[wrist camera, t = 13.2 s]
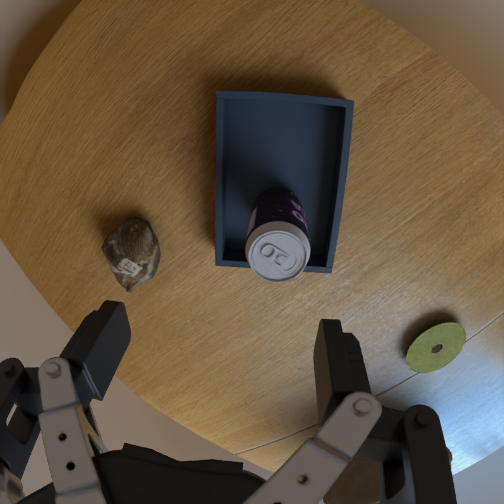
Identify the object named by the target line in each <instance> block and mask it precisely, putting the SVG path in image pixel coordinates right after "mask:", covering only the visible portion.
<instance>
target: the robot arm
mask: <svg viewBox="0 0 504 504" xmlns="http://www.w3.org/2000/svg"><path fill="white" fill-rule="evenodd" d="M130 339H131V329H130V325H129V321H128V317H127V313H126V309H125V305H124V303H123V302H117V301H110V300H106V301H104V302H103V304H102V305H101V307H100V308H99V310H98V311H96V310H94V311H93V312H92V313H90V314H89V315H87V316H86V317H85V318H84V320H83V321H82V323H81V324H80V327H78V329H77V330H76V332H75V334H74V335H73V336H72V338H71V339H70V341H69V342H68V344H67V345H66V347H65V348H64V350H63V351H62V353H61V354H60V356H59V357H54V358H50V359H48V360H46V361H45V362H43V363H42V365H41V366H40V367H39V368H38V367H36V368H24V366H23V364H22V363H21V361H20V360H19V359H17V358H9V359H6V360H4V361H2V362H1V363H0V504H318V503H319V501H320V500H321V499H322V498H323V497H324V496H325V494H326V493H327V492H328V491H329V489H330V488H331V487H332V486H333V484H334V483H335V482H336V480H337V479H338V478H339V477H340V475H341V474H342V473H343V471H344V470H345V469H346V467H347V466H348V465H349V463H350V462H351V460H352V459H353V458H354V457H358V458H362V459H367V460H372V461H376V462H378V474H379V488H380V504H457V501H456V494H455V489H454V483H453V477H452V472H451V467H450V462H449V458H448V453H447V448H446V444H445V440H444V436H443V432H442V428H441V424H440V420H439V417H438V415H437V413H436V412H435V411H434V410H433V409H432V408H430V407H428V406H426V405H414V406H411V407H410V408H408V409H407V411H406V412H404V411H399V410H394V409H390V408H387V407H384V406H382V405H381V404H380V402H379V400H378V399H377V398H376V397H375V396H373V395H372V393H371V389H370V385H369V381H368V376H367V372H366V368H365V364H364V362H363V361H364V360H363V356H362V354H361V353H362V352H361V348H360V344H359V341H358V340H357V339H356V337H355V336H354V335H353V334H352V333H343V331H342V326H341V322H340V320H337V319H321V320H320V323H319V328H318V332H317V337H316V342H315V346H314V357H313V360H314V372H315V383H316V395H317V408H318V422H319V428H320V429H319V430H318V432H317V433H316V434H315V435H314V436H313V437H309V438H308V439H307V440H305V441H304V443H303V444H302V445H301V446H300V447H299V448H298V449H297V450H296V451H295V452H294V453H293V454H292V455H291V457H290V458H289V459H288V460H287V461H286V462H285V463H284V464H283V465H282V466H281V467H280V468H279V469H278V470H277V471H276V472H275V473H274V474H273V475H272V476H271V477H270V478H269V479H268V480H267V481H266V480H265V479H263V478H262V477H260V476H258V475H256V474H254V473H252V472H249V471H246V470H243V462H232V461H222V460H214V459H210V460H198V461H177V460H175V459H172V458H170V457H168V456H166V455H163V454H161V453H159V452H157V451H155V450H153V449H149V448H145V447H140V446H136V445H132V444H128V443H124V446H123V448H122V450H113V451H108V450H107V448H106V447H105V445H104V443H103V440H102V438H101V435H100V432H99V429H98V426H97V423H96V420H95V417H94V414H93V411H92V408H91V405H90V402H91V400H92V398H93V399H97V400H100V401H102V400H103V397H104V395H105V393H106V391H107V389H108V387H109V385H110V382H111V380H112V378H113V376H114V374H115V372H116V370H117V368H118V366H119V363H120V361H121V359H122V357H123V355H124V353H125V351H126V349H127V347H128V345H129V343H130ZM14 403H15V404H16V406H17V408H16V410H15V412H14V414H13V416H12V418H11V420H10V422H9V424H8V426H7V424H6V420H7V417H8V415H9V413H10V411H11V409H12V407H13V405H14ZM40 431H41V433H42V439H43V443H44V448H45V452H46V456H47V461H48V465H49V469H50V473H51V477H52V480H53V482H51V483H50V484H48V485H46V486H44V487H43V488H41V489H39V490H37V491H35V492H34V493H32V494H30V495H28V496H26V497H25V494H24V492H23V486H22V483H21V478H22V476H23V473H24V470H25V467H26V465H27V463H28V460H29V457H30V455H31V452H32V450H33V447H34V445H35V442H36V440H37V438H38V436H39V433H40Z"/></svg>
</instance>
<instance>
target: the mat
mask: <svg viewBox="0 0 504 504" xmlns="http://www.w3.org/2000/svg"><path fill="white" fill-rule="evenodd" d="M465 340H466V333H465V330H464V328H463V327H462V326H461V325H459V324H457V323H453V322H448V323H442V324H439V325H437V326H434V327H432V328H430V329H428V330H426V331H425V332H424V333H422V334H421V335H420V336H419V337H418V338H417V339H416V340H415V341H414V342H413V343H412V345H411V346H410V347H409V350H408V352H407V355H406V363H407V365H408V367H409V368H410V369H411V370H413V371H415V372H420V373H423V372H424V373H426V372H431V371H435V370H438V369H440V368H442V367H444V366H445V365H447V364H448V363H450V362H451V361H452V360H453V359H454V358H455V357H456V356H457V355H458V354H459V352H460V351H461V349H462V347H463V346H464V343H465Z"/></svg>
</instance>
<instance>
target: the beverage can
mask: <svg viewBox="0 0 504 504" xmlns="http://www.w3.org/2000/svg"><path fill="white" fill-rule="evenodd" d="M310 255H311V244H310V239H309V235H308V230H307V225H306V220H305V216H304V211H303V207H302V203H301V201H300V199H299V198H298V196H297V195H296V194H295V193H293V192H292V191H290V190H288V189H285V188H280V187H275V188H270V189H267V190H265V191H263V192H262V193H261V194H260V195H259V196H258V197H257V198H256V200H255V202H254V205H253V209H252V214H251V219H250V223H249V228H248V233H247V238H246V242H245V256H246V259H247V261H248V263H249V265H250V267H251V269H252V270H253V272H254V273H255V274H256V275H257V276H259V277H260V278H262V279H263V280H266V281H268V282H273V283H283V282H287V281H290V280H292V279H294V278H296V277H297V276H298V275H299V274H301V272H302V271H303V270H304V268H305V266H306V264H307V263H308V261H309V258H310Z"/></svg>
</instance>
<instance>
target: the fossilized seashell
mask: <svg viewBox="0 0 504 504" xmlns="http://www.w3.org/2000/svg"><path fill="white" fill-rule="evenodd" d="M102 250H103V253H104V255H105V256H106V258H107V259H108V261H109V265H110V267H111V270H112V272H113V274H114V275H115V277H116V279H117V281H118V282H119V283H120V284H121V285H122V286H123V287H124V288H126V291H127V292H131V291H132V290H133V289H134V288H135V287H136V286H138V285H139V284H140V283H142V282H144V281H146V280H149V279H151V278H153V276H154V274H155V272H156V270H157V268H158V264H159V261H160V247H159V244H158V240H157V238H156V235H155V234H154V232H153V230H152V228H151V225H150V224H149V222H148V221H146V220H144V219H141V218H134V219H130V220H128V221H125V222H124V223H122V224H120V225H119V226H118V227H117V228H115V229H114V230H113V231H111V232H110V233H109V234H108V235H107V236H106V238H105V240H104V243H103V246H102Z"/></svg>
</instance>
